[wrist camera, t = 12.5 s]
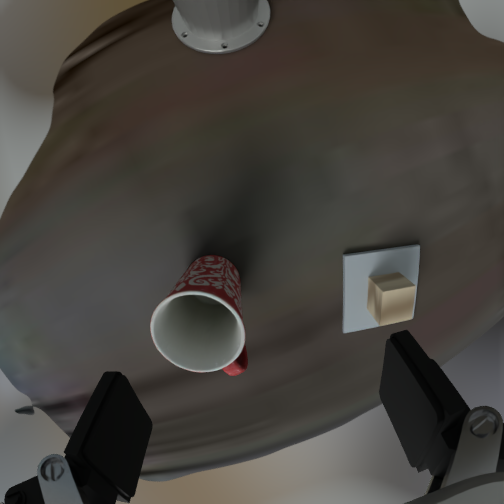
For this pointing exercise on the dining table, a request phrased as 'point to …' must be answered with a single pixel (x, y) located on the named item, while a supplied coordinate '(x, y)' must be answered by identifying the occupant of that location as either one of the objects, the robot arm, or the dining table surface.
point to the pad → (366, 266)
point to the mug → (203, 319)
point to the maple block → (390, 298)
